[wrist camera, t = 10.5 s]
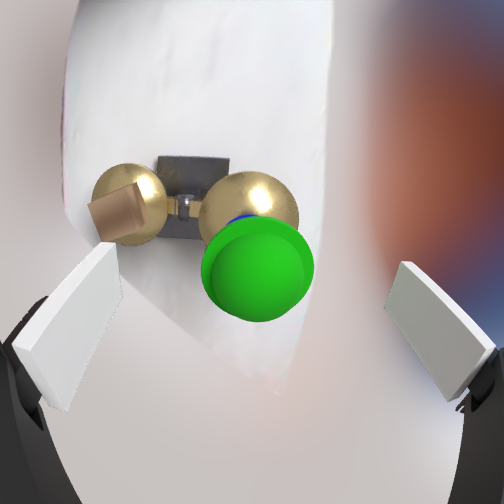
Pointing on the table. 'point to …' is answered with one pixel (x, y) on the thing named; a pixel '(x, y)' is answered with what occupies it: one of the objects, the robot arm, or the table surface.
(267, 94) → the table surface
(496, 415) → the robot arm
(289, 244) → the toy
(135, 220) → the walnut block
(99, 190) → the balance
